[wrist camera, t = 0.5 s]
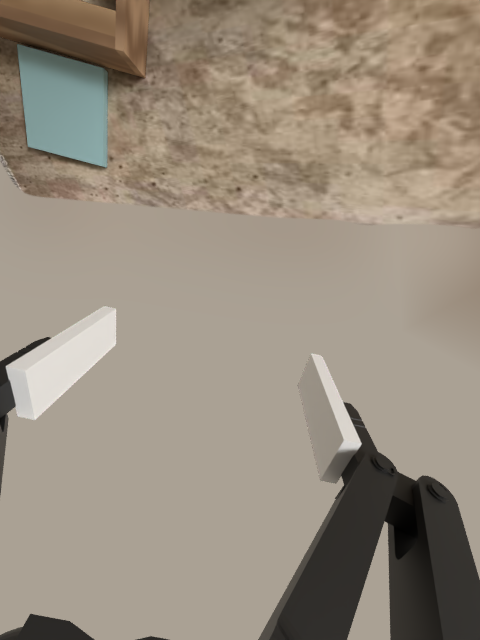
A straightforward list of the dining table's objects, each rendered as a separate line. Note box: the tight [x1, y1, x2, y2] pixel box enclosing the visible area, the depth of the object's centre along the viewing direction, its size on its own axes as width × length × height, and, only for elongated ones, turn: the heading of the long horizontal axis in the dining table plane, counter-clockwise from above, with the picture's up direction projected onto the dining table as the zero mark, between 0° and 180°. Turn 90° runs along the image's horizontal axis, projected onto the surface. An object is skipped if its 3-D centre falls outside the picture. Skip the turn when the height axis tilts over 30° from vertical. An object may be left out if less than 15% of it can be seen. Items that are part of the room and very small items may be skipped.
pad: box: [17, 44, 108, 168], centre depth 33 cm, size 11×11×1 cm
